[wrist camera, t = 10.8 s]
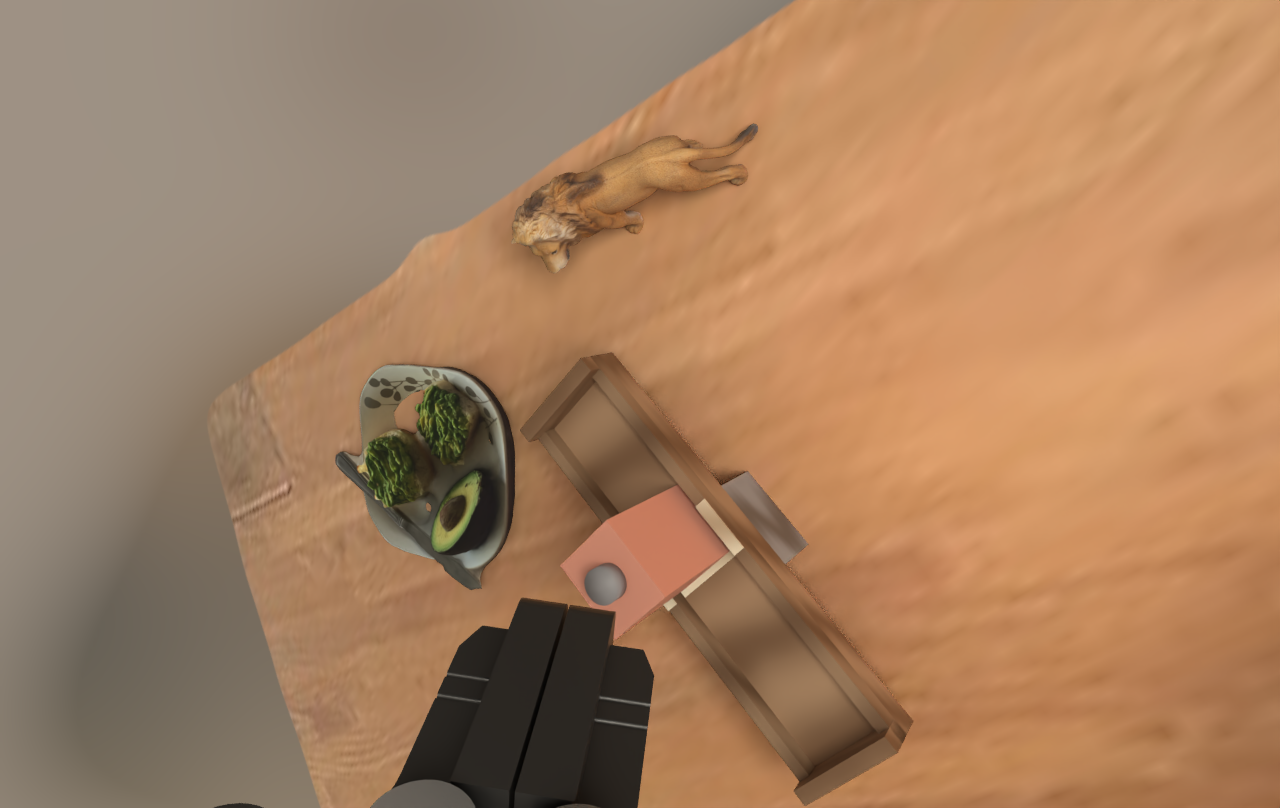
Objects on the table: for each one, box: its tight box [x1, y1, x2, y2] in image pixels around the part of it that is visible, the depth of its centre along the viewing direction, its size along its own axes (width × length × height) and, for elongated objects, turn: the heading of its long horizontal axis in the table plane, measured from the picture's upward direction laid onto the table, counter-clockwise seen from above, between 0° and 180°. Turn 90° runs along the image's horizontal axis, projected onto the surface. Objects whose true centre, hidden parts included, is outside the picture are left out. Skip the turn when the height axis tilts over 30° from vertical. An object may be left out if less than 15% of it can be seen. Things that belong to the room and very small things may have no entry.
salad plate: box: [335, 364, 515, 590], centre depth 67 cm, size 19×18×5 cm
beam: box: [520, 353, 913, 806], centre depth 51 cm, size 28×7×8 cm, turn 45°
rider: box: [560, 485, 730, 640], centre depth 47 cm, size 5×4×9 cm
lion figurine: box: [512, 124, 758, 273], centre depth 50 cm, size 15×5×9 cm, turn 118°
